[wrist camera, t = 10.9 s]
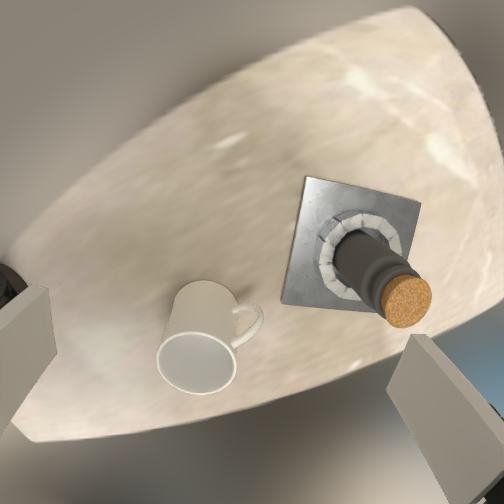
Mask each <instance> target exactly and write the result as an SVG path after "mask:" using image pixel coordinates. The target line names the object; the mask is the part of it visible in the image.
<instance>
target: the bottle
mask: <svg viewBox="0 0 504 504" xmlns="http://www.w3.org/2000/svg"><path fill="white" fill-rule="evenodd" d="M332 263H333V265H334V266H335V268H336V269H337V270H338V272H339V273H340V274H341V275H342V276H343V278H344V279H345V280H346V281H347V282H348V284H349V285H350V286H351V287H352V289H353V290H354V291H355V292H356V293H357V295H358V296H359V297H360V298H361V299H362V301H363V302H364V303H365V304H366V305H367V306H368V307H370V308H371V309H373V310H376V312H377V313H378V314H379V315H380V316H381V317H383V318H384V319H387V321H388V322H389V323H390V324H391V325H392V326H394V327H396V328H407V327H410V326H412V325H414V324H416V323H417V322H419V321H420V320H421V319H422V318H423V317H424V315H425V314H426V312H427V311H428V309H429V306H430V303H431V298H432V293H431V289H430V286H429V285H428V283H427V282H426V281H425V280H423V279H421V277H420V275H419V274H418V273H417V272H416V271H415V270H413V269H412V268H411V266H410V264H409V263H408V262H407V261H406V260H405V259H404V258H403V257H401V256H400V255H399V254H397V253H396V252H394V251H393V250H391V249H390V248H388V247H387V246H385V245H384V244H382V243H381V242H379V241H378V240H376V239H375V238H373V237H372V236H370V235H368V234H367V233H365V232H363V231H361V230H356V229H355V230H352V231H350V232H347V233H346V234H345V236H344V237H343V238H342V239H341V240H340V241H339V243H338V244H337V245H336V246H335V250H334V254H333V258H332Z"/></svg>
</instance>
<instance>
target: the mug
mask: <svg viewBox="0 0 504 504" xmlns="http://www.w3.org/2000/svg"><path fill="white" fill-rule="evenodd" d="M247 310H252V311H256V312H258V318H257V320H256V321H255V323H254V324H253V325H252V326H251V327H250V328H249V329H248V330H246V331H245V332H244V333H242V334H240V335H238V336H236V320H237V317H238V312H241V311H247ZM263 319H264V315H263V312H262V310H261V308H260V307H259V306H257V305H255V304H249V303H246V304H239V305H237V302H236V300H235V298H234V296H233V295H232V293H231V292H230V291H229V290H228V289H227V288H225V287H224V286H222V285H221V284H218V283H216V282H213V281H206V280H201V281H195V282H192V283H189V284H187V285H186V286H184V287H183V288H182V289H181V290H180V291H179V292H178V293H177V295H176V297H175V299H174V302H173V309H172V312H171V315H170V318H169V320H168V323H167V326H166V328H165V331H164V334H163V337H162V339H161V342H160V345H159V348H158V351H157V354H156V364H157V368H158V371H159V373H160V374H161V376H162V377H163V378H164V380H165V381H166V382H167V383H169V384H170V385H171V386H173V387H174V388H176V389H178V390H180V391H183V392H186V393H189V394H196V395H206V394H212V393H215V392H218V391H220V390H222V389H224V388H225V387H226V386H228V385H229V384H230V383H231V381H232V380H233V378H234V377H235V374H236V370H237V346H239V345H241V344H242V343H244V342H245V341H247V340H248V339H249V338H251V337H252V336H253V335H254V334H255V333H256V332H257V331H258V329H259V328H260V327H261V325H262V323H263Z"/></svg>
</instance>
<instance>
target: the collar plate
mask: <svg viewBox="0 0 504 504" xmlns="http://www.w3.org/2000/svg"><path fill="white" fill-rule="evenodd" d="M420 207H421V203H420V202H417V201H413V200H409V199H405V198H402V197H398V196H394V195H390V194H386V193H381V192H377V191H373V190H369V189H364V188H360V187H356V186H351V185H347V184H342V183H337V182H332V181H328V180H323V179H318V178H313V177H307V176H305V180H304V186H303V191H302V197H301V202H300V207H299V213H298V218H297V223H296V228H295V233H294V238H293V243H292V248H291V253H290V258H289V263H288V268H287V273H286V278H285V282H284V287H283V292H282V296H281V303H282V304H287V305H296V306H306V307H315V308H326V309H336V310H348V311H359V312H372V313H377V312H376V310H373V309H371V308H370V307H368V306H367V305H366V304H365V303H364V302H363V301H362V299H361V298H360V297H359V296H358V295H357V293H356V292H355V291H354V290H353V289H352V287H351V286H350V285H349V284H348V282H347V281H346V280H345V279H344V278H343V276H342V275H341V274H340V273H339V272H338V270H337V269H336V268H335V266H334V265H333V263H332V258H333V254H334V250H335V246H336V245H337V244H338V243H339V241H340V240H341V239H342V238H343V237H344V236H345V234H346V233H347V232H350V231H352V230H355V229H356V230H361V231H363V232H365V233H367V234H368V235H370V236H372V237H373V238H375V239H376V240H378V241H379V242H381V243H382V244H384V245H385V246H387V247H388V248H390V249H391V250H393V251H394V252H396V253H397V254H399V255H400V256H401V257H403V258H404V259H405V260H406V261H407V259H408V255H409V252H410V248H411V244H412V240H413V237H414V233H415V229H416V224H417V220H418V216H419V212H420Z"/></svg>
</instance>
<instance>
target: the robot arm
mask: <svg viewBox="0 0 504 504" xmlns="http://www.w3.org/2000/svg"><path fill="white" fill-rule="evenodd" d="M56 354H57V349H56V344H55V338H54V332H53V325H52V318H51V310H50V302H49V292H48V288H45V287H40V286H36V285H32V284H31V285H30V286H29V287H27V285H26V284H25V282H24V281H23V280H22V279H21V278H20V276H19V275H18V274H16V273H15V272H14V271H13V270H12V269H10V268H9V267H7V266H5V265H3V264H0V437H1V435H2V433H3V432H4V430H5V429H6V427H7V425H8V424H9V422H10V421H11V419H12V417H13V416H14V414H15V413H16V411H17V410H18V408H19V407H20V405H21V404H22V402H23V401H24V399H25V398H26V396H27V395H28V393H29V392H30V390H31V389H32V387H33V386H34V385H35V383H36V382H37V380H38V379H39V377H40V376H41V375H42V373H43V372H44V370H45V369H46V368H47V366H48V365H49V363H50V362H51V361H52V359H53V358H54V357H55V355H56ZM386 391H387V393H388V394H389V396H390V398H391V399H392V401H393V403H394V405H395V406H396V408H397V410H398V411H399V413H400V415H401V417H402V418H403V420H404V422H405V423H406V425H407V427H408V429H409V430H410V432H411V434H412V435H413V437H414V439H415V441H416V443H417V444H418V446H419V448H420V450H421V452H422V453H423V455H424V457H425V459H426V461H427V463H428V464H429V466H430V468H431V470H432V472H433V473H434V475H435V477H436V479H437V481H438V483H439V485H440V486H441V488H442V490H443V492H444V494H445V496H446V497H447V500H448V502H449V504H476V503H478V502H479V501H480V500H481V499H482V498H483V497H485V499H486V502H485V503H484V504H504V419H503V418H502V417H500V414H499V413H498V412H497V410H496V409H495V408H494V407H493V406H492V405H491V404H489V403H488V402H487V401H486V400H485V399H484V398H483V397H482V395H481V394H480V393H479V392H478V391H477V390H476V389H475V387H474V386H473V385H472V384H471V383H470V382H469V381H468V380H467V378H466V377H465V376H464V375H463V374H462V373H461V372H460V371H459V370H458V368H457V367H456V366H455V365H454V364H453V363H452V362H451V361H450V360H449V359H448V357H447V356H446V355H445V354H444V353H443V352H442V351H441V350H440V349H439V348H438V347H437V346H436V344H435V343H434V342H433V341H432V340H431V339H430V338H429V337H428V336H427V335H426V334H411V335H410V338H409V340H408V342H407V345H406V347H405V349H404V352H403V354H402V356H401V359H400V361H399V363H398V365H397V367H396V370H395V372H394V374H393V376H392V378H391V380H390V382H389V384H388V386H387V388H386Z"/></svg>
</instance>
